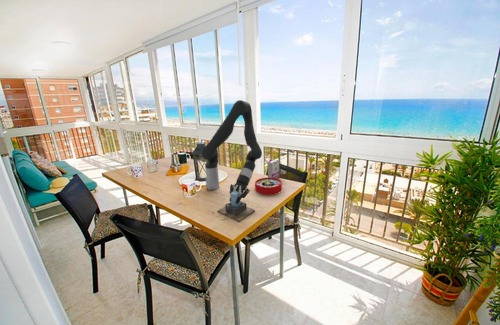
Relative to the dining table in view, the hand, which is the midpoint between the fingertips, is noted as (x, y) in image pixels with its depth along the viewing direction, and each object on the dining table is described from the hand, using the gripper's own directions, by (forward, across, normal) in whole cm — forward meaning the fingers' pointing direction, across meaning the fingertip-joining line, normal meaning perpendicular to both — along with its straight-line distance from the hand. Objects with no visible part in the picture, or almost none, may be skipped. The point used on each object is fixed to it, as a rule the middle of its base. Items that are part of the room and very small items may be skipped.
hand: (233, 202), depth 115 cm
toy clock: (-23, 0, +34) cm, 41 cm away
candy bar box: (-38, -6, +48) cm, 61 cm away
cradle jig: (+4, 0, +6) cm, 7 cm away
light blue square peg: (+2, 0, +5) cm, 5 cm away
